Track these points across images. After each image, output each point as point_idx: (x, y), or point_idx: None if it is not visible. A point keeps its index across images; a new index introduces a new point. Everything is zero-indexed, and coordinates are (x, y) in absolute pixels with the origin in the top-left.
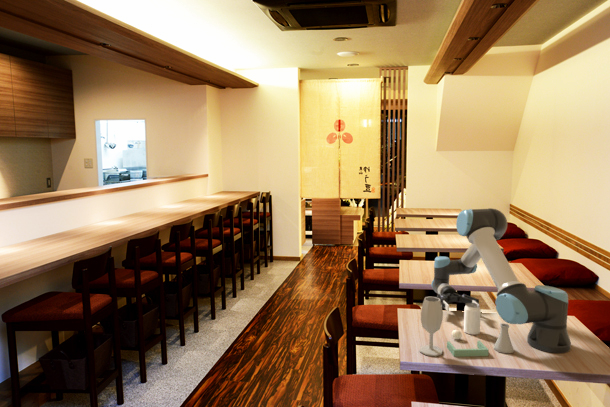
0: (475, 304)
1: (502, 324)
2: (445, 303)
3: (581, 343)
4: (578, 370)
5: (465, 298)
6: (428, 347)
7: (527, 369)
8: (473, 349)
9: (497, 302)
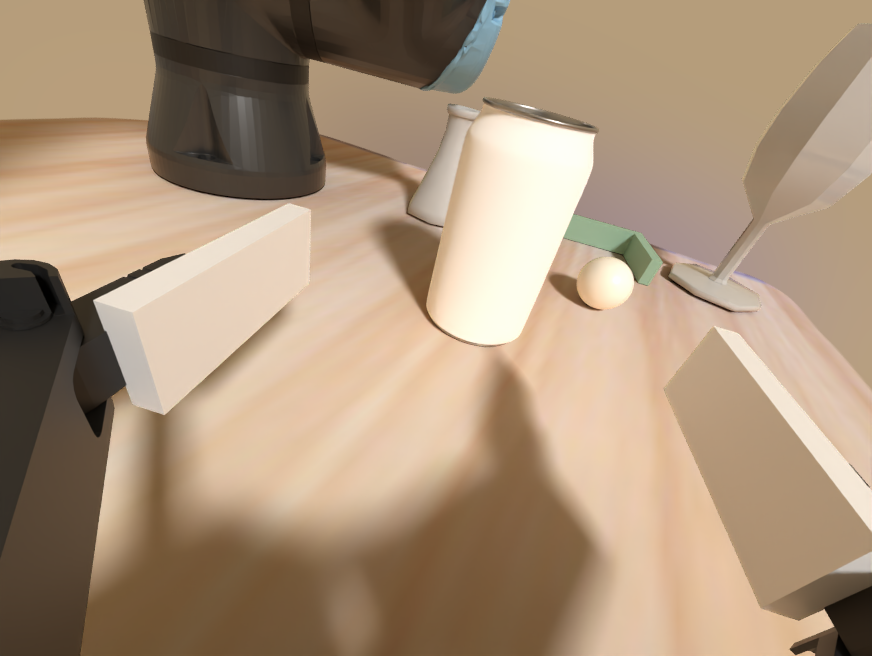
0: (498, 112)
1: (465, 113)
2: (792, 401)
3: (110, 136)
4: (342, 145)
5: (12, 557)
6: (728, 288)
7: None
8: (575, 215)
9: None
